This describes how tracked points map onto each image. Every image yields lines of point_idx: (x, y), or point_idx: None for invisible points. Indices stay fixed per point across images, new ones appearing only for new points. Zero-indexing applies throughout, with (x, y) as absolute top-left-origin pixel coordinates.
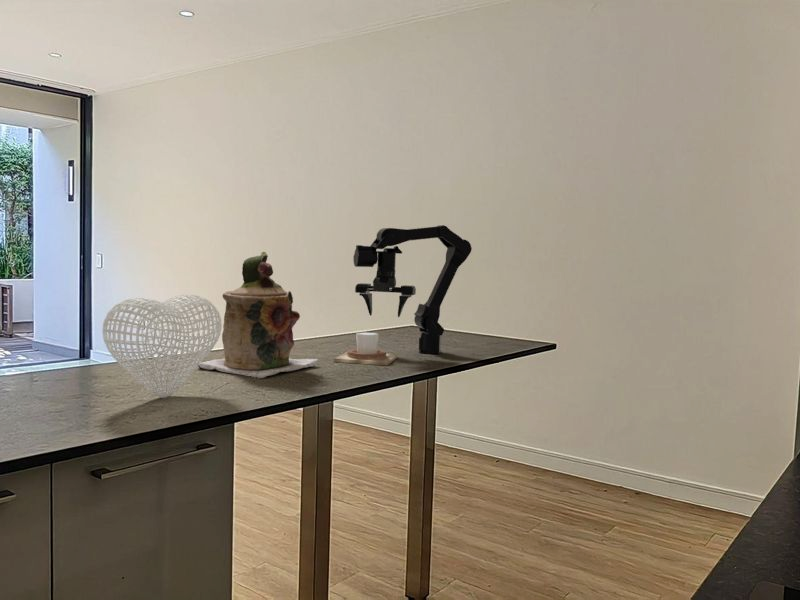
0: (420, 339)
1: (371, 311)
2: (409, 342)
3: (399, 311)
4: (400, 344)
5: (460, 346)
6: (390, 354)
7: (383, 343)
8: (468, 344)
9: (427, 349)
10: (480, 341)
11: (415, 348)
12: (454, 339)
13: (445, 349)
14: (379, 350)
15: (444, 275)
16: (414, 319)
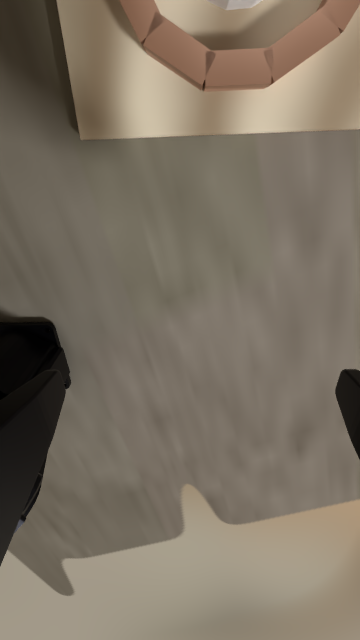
0: (35, 376)
1: (356, 413)
2: (169, 496)
3: (8, 403)
4: (185, 462)
5: None
6: (117, 121)
7: (243, 462)
8: None
9: (13, 335)
10: None
11: (113, 414)
12: (76, 554)
13: None
14: (166, 25)
15: None
16: (37, 483)
